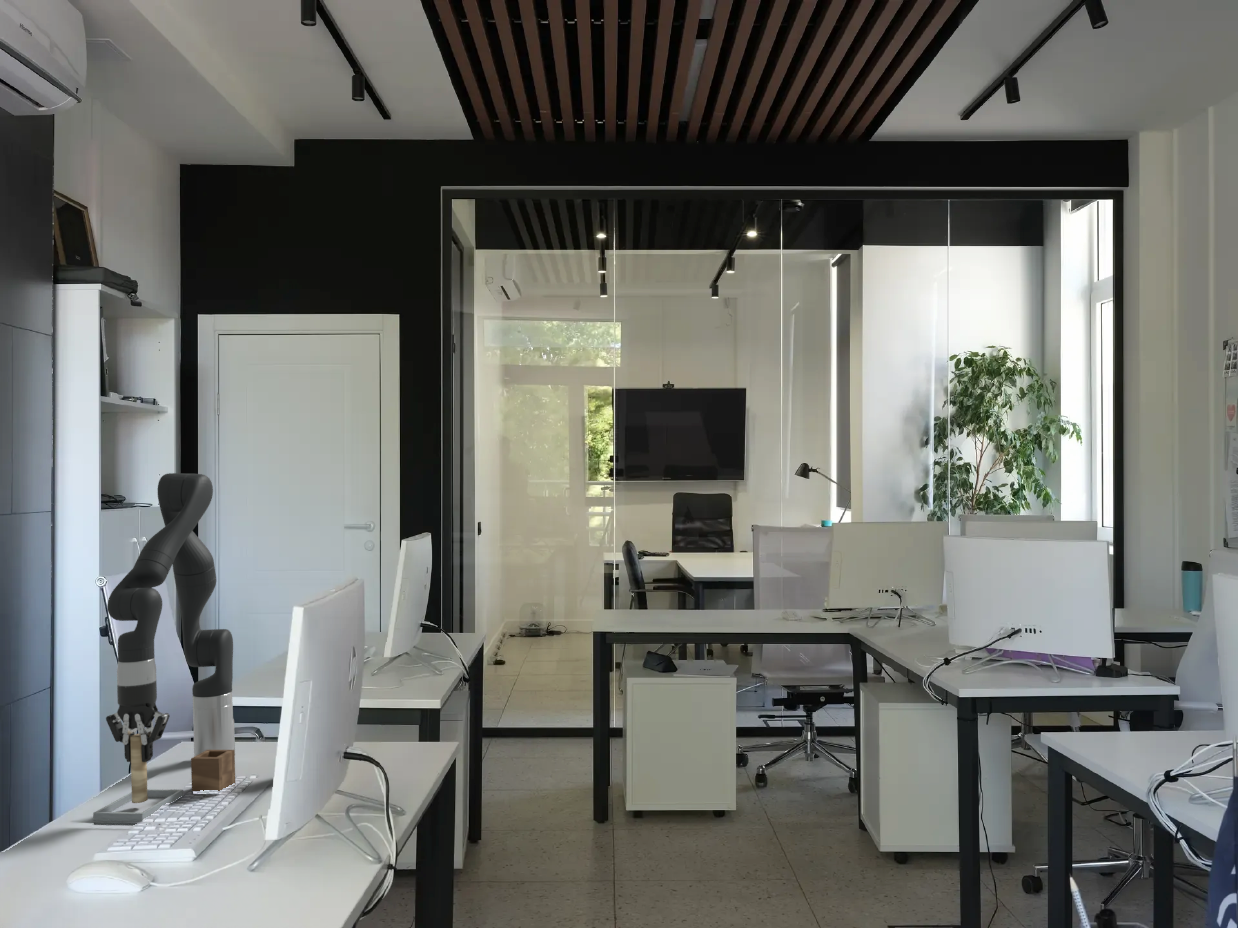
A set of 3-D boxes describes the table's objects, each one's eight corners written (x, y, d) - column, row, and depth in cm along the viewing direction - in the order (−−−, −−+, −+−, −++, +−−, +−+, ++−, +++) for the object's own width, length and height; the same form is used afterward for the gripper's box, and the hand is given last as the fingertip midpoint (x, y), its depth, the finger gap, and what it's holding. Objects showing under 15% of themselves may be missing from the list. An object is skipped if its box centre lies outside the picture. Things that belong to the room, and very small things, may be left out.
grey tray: (137, 799, 207) (137, 788, 207) (183, 800, 205) (183, 789, 205) (93, 824, 192) (93, 812, 192) (142, 825, 191) (142, 813, 191)
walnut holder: (208, 788, 213) (207, 749, 213) (235, 788, 212) (234, 749, 212) (192, 798, 206) (190, 758, 206) (219, 799, 206) (218, 758, 206)
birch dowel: (137, 798, 200) (136, 733, 200) (150, 798, 200) (149, 733, 200) (128, 802, 197) (127, 737, 197) (141, 803, 197) (140, 737, 197)
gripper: (177, 676, 202) (179, 755, 202) (118, 676, 204) (120, 755, 203) (156, 684, 194) (158, 766, 194) (94, 684, 196) (96, 766, 196)
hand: (138, 760), depth 199 cm, fingers closed on birch dowel, 3 cm apart
